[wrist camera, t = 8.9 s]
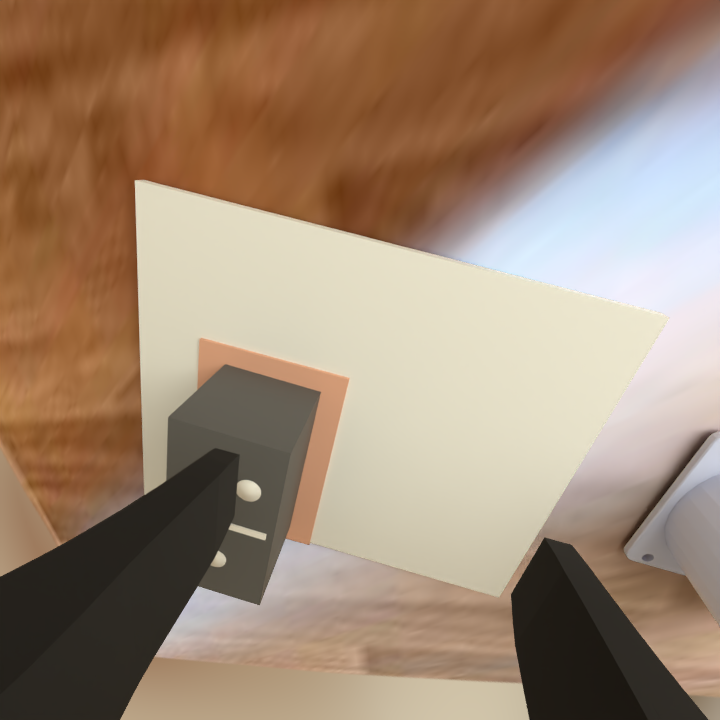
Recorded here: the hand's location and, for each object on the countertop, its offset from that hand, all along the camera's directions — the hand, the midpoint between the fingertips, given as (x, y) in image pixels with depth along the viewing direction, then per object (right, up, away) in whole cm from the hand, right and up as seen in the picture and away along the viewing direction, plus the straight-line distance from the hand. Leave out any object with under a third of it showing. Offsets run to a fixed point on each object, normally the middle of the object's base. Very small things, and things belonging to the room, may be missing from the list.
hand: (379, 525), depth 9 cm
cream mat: (-1, +1, +10) cm, 10 cm away
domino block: (-6, -1, +11) cm, 12 cm away
